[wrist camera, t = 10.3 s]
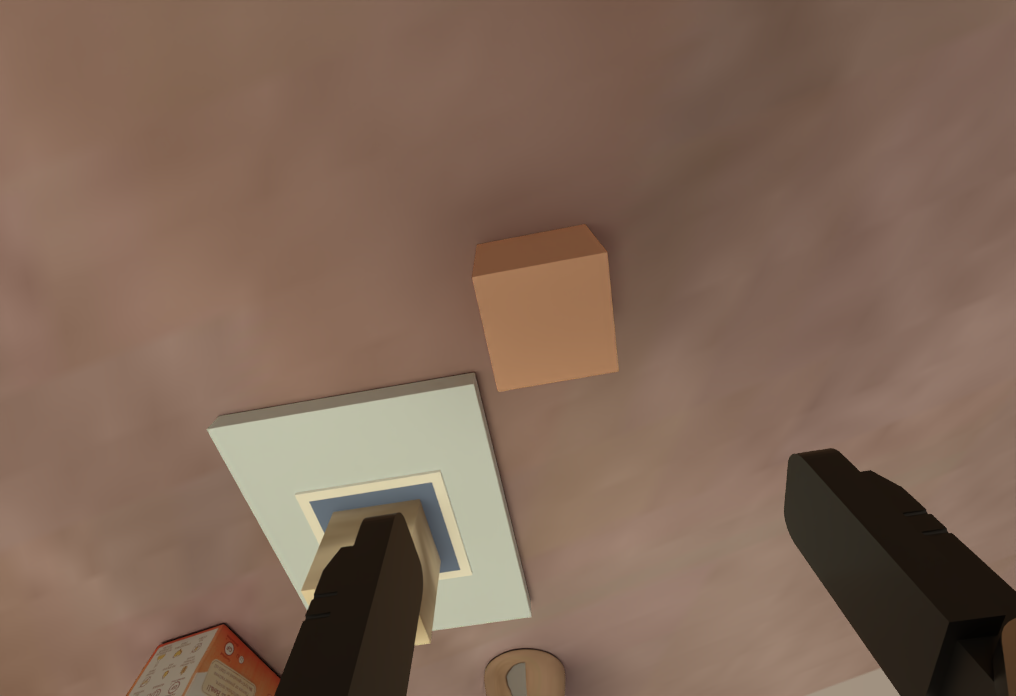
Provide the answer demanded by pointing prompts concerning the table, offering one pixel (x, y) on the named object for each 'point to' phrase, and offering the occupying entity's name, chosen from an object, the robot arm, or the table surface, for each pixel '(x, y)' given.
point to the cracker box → (205, 668)
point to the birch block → (345, 533)
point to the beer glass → (525, 674)
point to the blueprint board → (385, 484)
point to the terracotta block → (546, 307)
